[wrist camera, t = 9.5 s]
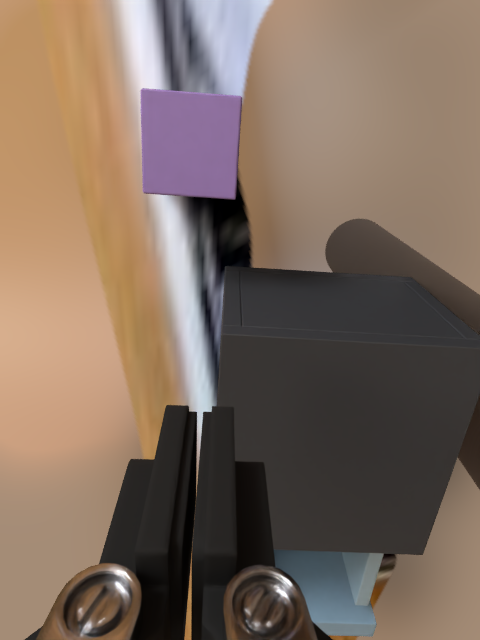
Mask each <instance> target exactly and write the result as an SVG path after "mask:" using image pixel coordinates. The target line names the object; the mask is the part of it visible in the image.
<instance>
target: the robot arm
mask: <svg viewBox="0 0 480 640" xmlns="http://www.w3.org/2000/svg"><path fill="white" fill-rule="evenodd" d="M196 454H197V412H189V406H178V405H167V406H166V409H165V413H164V418H163V422H162V427H161V432H160V436H159V441H158V445H157V450H156V455H155V459H154V460H148V459H131V460H130V461H129V464H128V466H127V470H126V473H125V477H124V480H123V483H122V487H121V491H120V494H119V497H118V501H117V504H116V507H115V511H114V514H113V518H112V521H111V525H110V528H109V532H108V535H107V538H106V542H105V545H104V549H103V553H102V556H101V559H100V563H99V564H98V565H95V566H91V567H88V568H87V569H85V570H83V571H81V572H80V573H78V574H77V575H76V576H75V577H73V578H72V579H71V580H70V581H69V582H68V583H67V584H66V585H65V587H64V588H63V589H62V591H61V592H60V594H59V595H58V597H57V599H56V601H55V603H54V605H53V607H52V609H51V611H50V613H49V615H48V617H47V619H46V621H45V623H44V625H43V626H42V627H41V628H40V629H38V630H37V631H36V632H34V633H33V634H31V635H30V636H29V637H28V638H26V639H25V640H184V636H185V624H186V612H187V600H188V588H189V576H190V564H191V553H192V640H332V639H331V638H330V637H329V636H328V635H327V634H326V633H325V632H324V631H322V630H321V629H320V628H319V627H318V626H317V625H316V624H315V623H314V622H313V621H312V620H311V617H310V613H309V610H308V607H307V604H306V600H305V597H304V595H303V593H302V591H301V589H300V587H299V585H298V584H297V583H296V581H295V580H294V579H293V578H292V577H291V576H290V575H289V574H287V573H286V572H284V571H283V570H281V569H280V568H276V567H275V557H274V548H273V539H272V529H271V520H270V511H269V501H268V492H267V483H266V473H265V465H264V462H248V461H235V437H234V407H217V406H212V412H204V413H203V424H202V436H201V448H200V460H199V472H198V484H197V496H196ZM195 505H196V508H195ZM194 517H195V520H194ZM193 529H194V532H193ZM192 541H193V546H192Z"/></svg>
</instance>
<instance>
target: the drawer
mask: <svg viewBox="0 0 480 640" xmlns="http://www.w3.org/2000/svg"><path fill="white" fill-rule="evenodd" d="M274 557H275V567H276V568H280V569H281V570H283V571H284V572H286V573H287V574H289V575H290V576H291V577H292V578H293V579H294V580H295V581H296V583H297V584H298V585H299V587H300V589H301V591H302V593H303V595H304V597H305V600H306V604H307V607H308V610H309V613H310V617H311V620H312V621H313V622H314V623H315V624H316V625H317V626H318V627H319V628H320V629H321V630H322V631H324V632H325V633H326V634H327V635H339V636H373V634H374V631H375V628H376V620H375V617H374V613H373V610H372V606H371V603H370V598H371V594H372V591H373V588H374V584H375V581H376V578H377V574H378V571H379V568H380V564H381V561H382V558H383V553H355V552H326V551H298V550H274Z"/></svg>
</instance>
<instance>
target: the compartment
mask: <svg viewBox="0 0 480 640" xmlns="http://www.w3.org/2000/svg"><path fill="white" fill-rule="evenodd" d="M479 395H480V336H479V335H478V334H477V333H475V332H474V331H473V330H472V329H471V328H470V327H468V326H467V325H466V324H465V323H464V322H463V321H461V320H460V319H459V318H458V317H457V316H456V315H454V314H453V313H452V312H451V311H450V310H449V309H447V308H446V307H445V306H444V305H443V304H442V303H440V302H439V301H438V300H437V299H436V298H435V297H433V296H432V295H431V294H430V293H429V292H428V291H426V290H425V289H424V288H423V287H422V286H421V285H419V284H418V283H417V282H416V281H415V280H414V279H413V278H411V277H395V276H379V275H363V274H346V273H330V272H329V273H328V272H314V271H298V270H282V269H266V268H250V267H234V266H226V267H225V278H224V294H223V311H222V328H221V345H220V363H219V381H218V398H217V407H234V437H235V461H248V462H264V465H265V473H266V483H267V492H268V501H269V511H270V520H271V529H272V539H273V548H274V550H298V551H326V552H355V553H383V554H413V555H423V553H424V550H425V547H426V544H427V541H428V539H429V536H430V532H431V530H432V527H433V525H434V522H435V519H436V516H437V513H438V510H439V508H440V505H441V502H442V499H443V496H444V494H445V491H446V488H447V485H448V482H449V479H450V476H451V474H452V471H453V468H454V465H455V462H456V460H457V457H458V454H459V451H460V448H461V446H462V443H463V440H464V437H465V434H466V432H467V429H468V426H469V423H470V420H471V417H472V415H473V412H474V409H475V406H476V403H477V401H478V398H479Z"/></svg>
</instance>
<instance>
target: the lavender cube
mask: <svg viewBox="0 0 480 640" xmlns="http://www.w3.org/2000/svg"><path fill="white" fill-rule="evenodd" d="M241 109H242V97H241V96H234V95H221V94H208V93H195V92H182V91H170V90H157V89H144V88H143V89H141V129H142V172H143V192H144V193H146V194H161V195H175V196H190V197H204V198H219V199H235V198H236V188H237V172H238V156H239V140H240V124H241Z"/></svg>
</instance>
